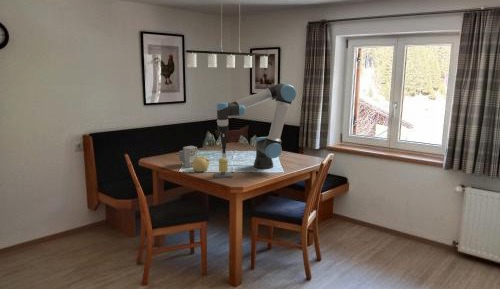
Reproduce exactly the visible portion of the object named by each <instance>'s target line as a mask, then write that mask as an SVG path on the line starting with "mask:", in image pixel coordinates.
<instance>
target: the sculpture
mask: <svg viewBox="0 0 500 289" xmlns="http://www.w3.org/2000/svg"><path fill="white" fill-rule="evenodd" d="M209 166H210V159H209V158H207V157H205V156H197V157H196V158H195V160H194V161H193V164H192V167H193V168H192V169H193V170H194V172H196V173H197V172H200V173H201V172H206V171H207V170H208V168H209Z"/></svg>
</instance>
